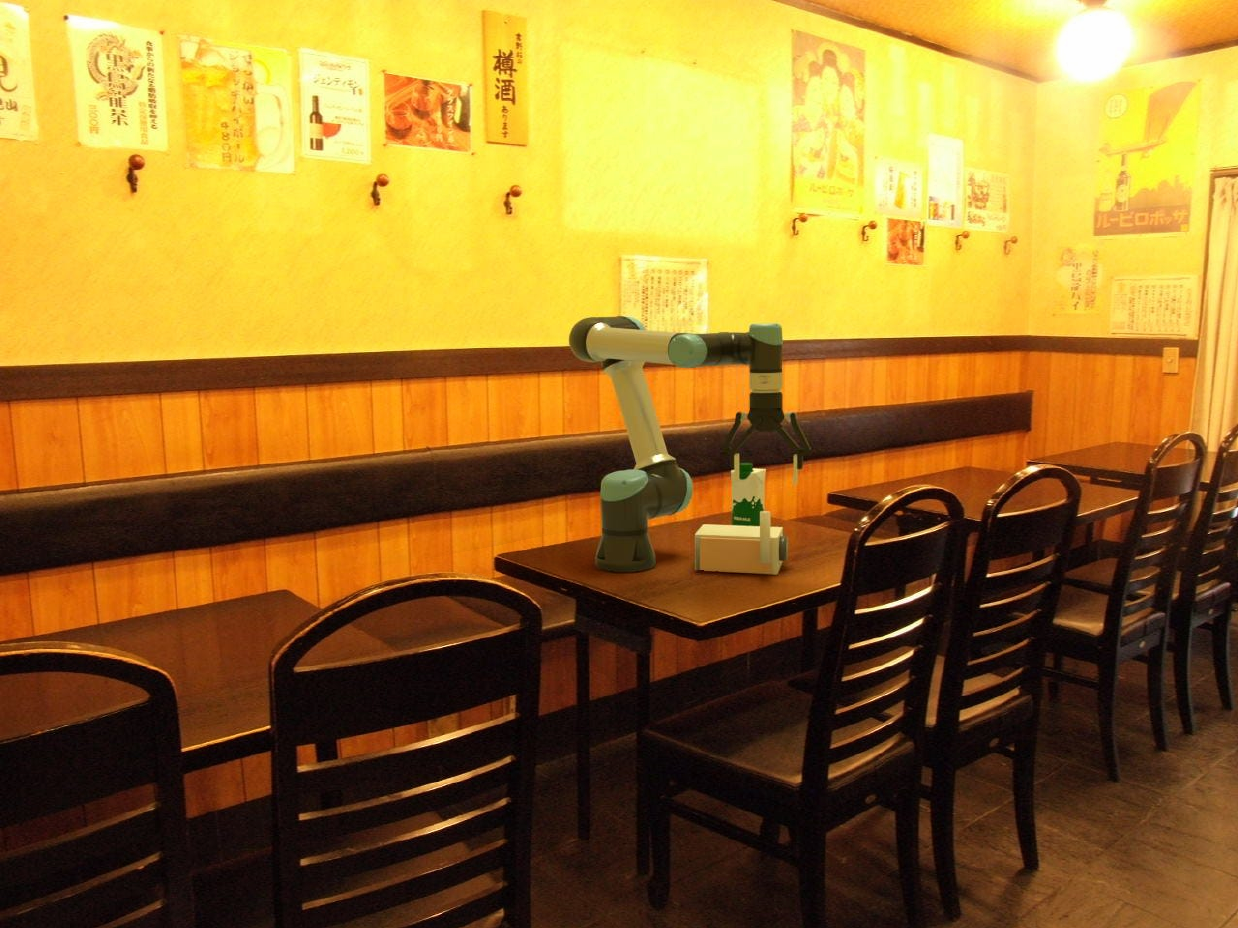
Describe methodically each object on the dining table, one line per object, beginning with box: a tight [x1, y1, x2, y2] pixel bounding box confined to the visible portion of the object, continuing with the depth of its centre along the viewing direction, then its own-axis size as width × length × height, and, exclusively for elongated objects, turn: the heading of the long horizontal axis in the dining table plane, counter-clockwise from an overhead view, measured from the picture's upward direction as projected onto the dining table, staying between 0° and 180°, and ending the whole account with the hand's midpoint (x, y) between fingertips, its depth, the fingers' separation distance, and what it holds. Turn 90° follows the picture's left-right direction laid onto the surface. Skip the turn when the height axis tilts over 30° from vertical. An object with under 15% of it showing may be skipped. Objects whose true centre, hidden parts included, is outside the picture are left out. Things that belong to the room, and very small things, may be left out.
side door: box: [695, 510, 772, 575], centre depth 233 cm, size 18×5×16 cm, turn 75°
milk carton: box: [730, 462, 767, 526], centre depth 280 cm, size 9×9×20 cm
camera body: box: [694, 523, 789, 576], centre depth 242 cm, size 22×12×9 cm, turn 75°
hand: (766, 482), depth 227 cm, fingers open, 13 cm apart
